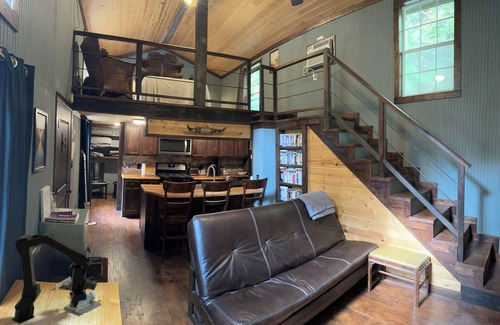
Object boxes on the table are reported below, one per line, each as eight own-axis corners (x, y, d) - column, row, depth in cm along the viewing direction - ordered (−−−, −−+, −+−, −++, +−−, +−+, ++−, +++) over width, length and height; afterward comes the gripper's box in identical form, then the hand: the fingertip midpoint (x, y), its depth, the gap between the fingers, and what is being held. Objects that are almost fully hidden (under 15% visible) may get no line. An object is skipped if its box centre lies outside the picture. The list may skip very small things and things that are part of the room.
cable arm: (72, 308, 144) (73, 301, 144) (69, 306, 145) (69, 299, 145) (96, 298, 155) (96, 292, 155) (92, 297, 157) (93, 290, 157)
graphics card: (54, 284, 165) (69, 276, 177) (53, 291, 165) (68, 282, 177) (81, 288, 164) (94, 279, 176) (81, 295, 164) (94, 285, 176)
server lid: (80, 315, 142) (80, 311, 142) (64, 308, 147) (64, 304, 147) (101, 305, 153) (101, 301, 153) (85, 299, 158) (85, 295, 158)
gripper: (100, 281, 141) (96, 312, 141) (93, 268, 156) (90, 297, 156) (73, 284, 134) (70, 318, 134) (69, 271, 149) (66, 301, 149)
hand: (75, 307), depth 143 cm, fingers closed
